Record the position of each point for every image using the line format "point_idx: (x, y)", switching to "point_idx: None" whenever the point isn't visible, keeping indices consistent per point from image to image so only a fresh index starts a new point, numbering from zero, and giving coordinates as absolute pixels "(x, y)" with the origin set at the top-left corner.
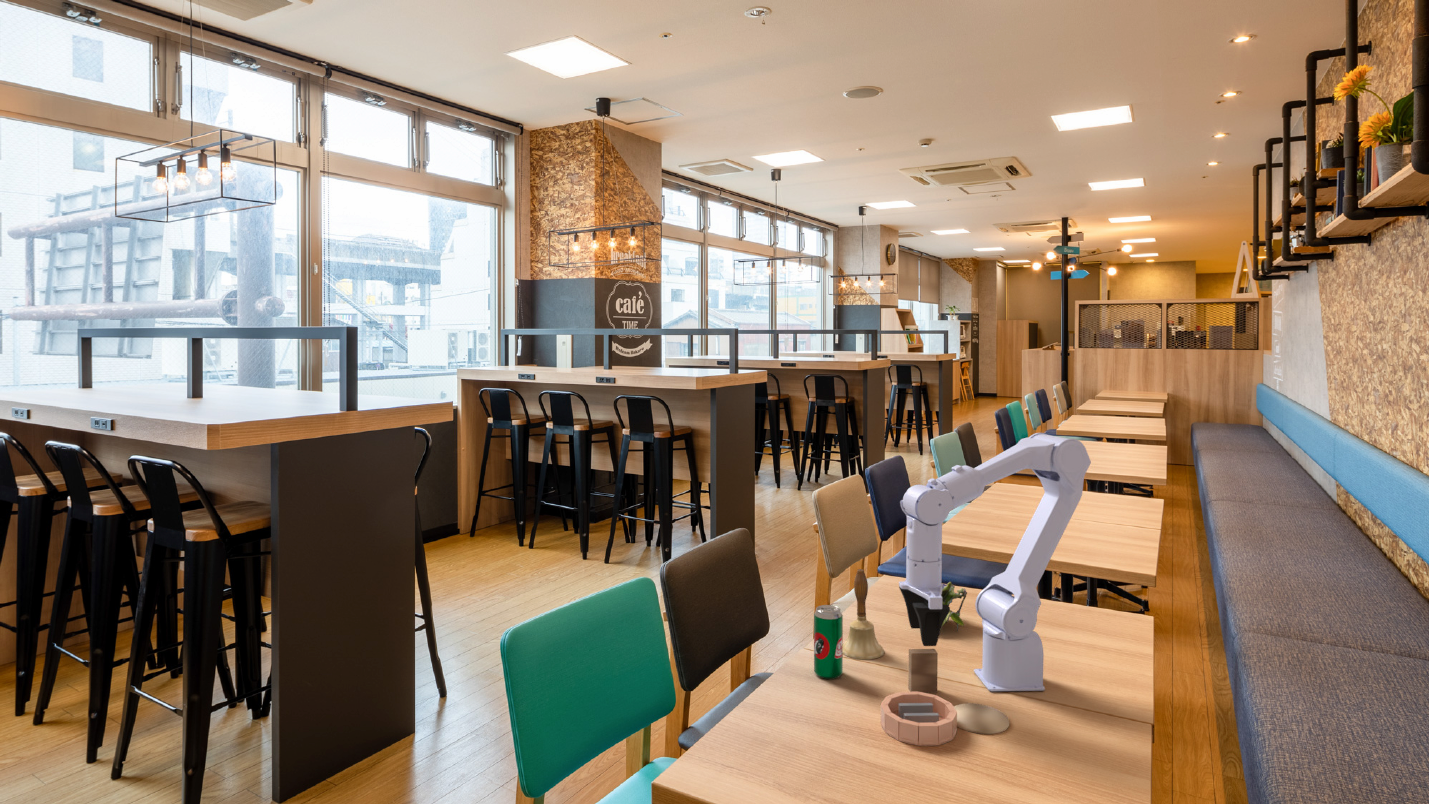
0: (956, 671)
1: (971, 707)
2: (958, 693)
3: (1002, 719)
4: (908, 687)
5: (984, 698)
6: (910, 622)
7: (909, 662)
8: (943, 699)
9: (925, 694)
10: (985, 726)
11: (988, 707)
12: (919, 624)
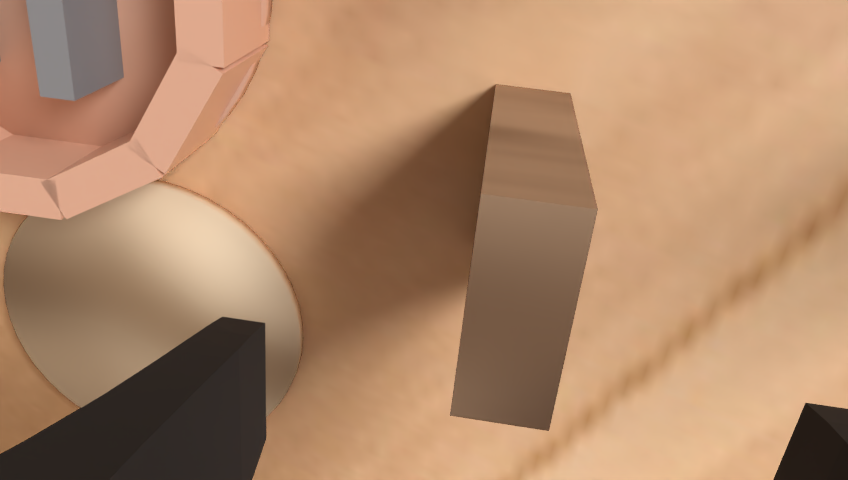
0: (726, 460)
1: None
2: (452, 352)
3: None
4: (568, 95)
5: (379, 440)
6: (845, 448)
7: (553, 158)
8: (105, 194)
9: (176, 104)
10: (56, 310)
11: None
12: (107, 474)
